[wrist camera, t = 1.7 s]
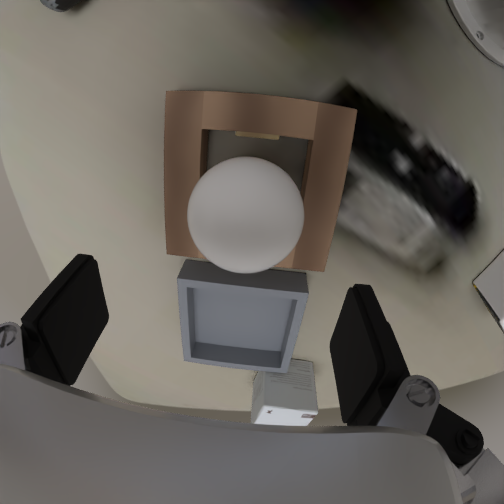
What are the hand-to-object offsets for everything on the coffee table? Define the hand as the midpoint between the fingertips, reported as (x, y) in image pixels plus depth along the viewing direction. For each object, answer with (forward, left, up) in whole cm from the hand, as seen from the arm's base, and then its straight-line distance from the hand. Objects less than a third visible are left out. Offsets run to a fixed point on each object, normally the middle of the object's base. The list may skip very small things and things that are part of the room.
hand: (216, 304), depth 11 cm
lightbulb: (0, 0, -15) cm, 15 cm away
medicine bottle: (-30, +6, -15) cm, 35 cm away
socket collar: (0, 0, -15) cm, 15 cm away
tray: (0, +14, -15) cm, 20 cm away
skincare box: (-6, +23, -15) cm, 28 cm away
